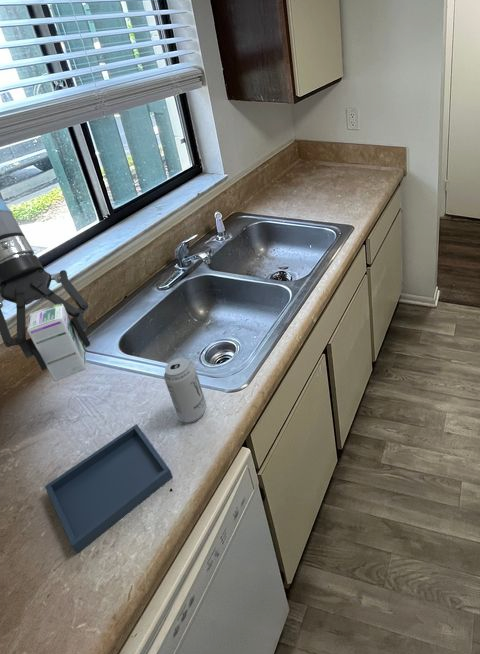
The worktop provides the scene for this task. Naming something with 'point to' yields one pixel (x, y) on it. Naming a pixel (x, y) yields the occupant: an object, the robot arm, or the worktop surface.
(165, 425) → the worktop surface
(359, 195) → the worktop surface
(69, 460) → the worktop surface
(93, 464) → the tray
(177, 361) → the energy drink can
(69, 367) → the syrup box
